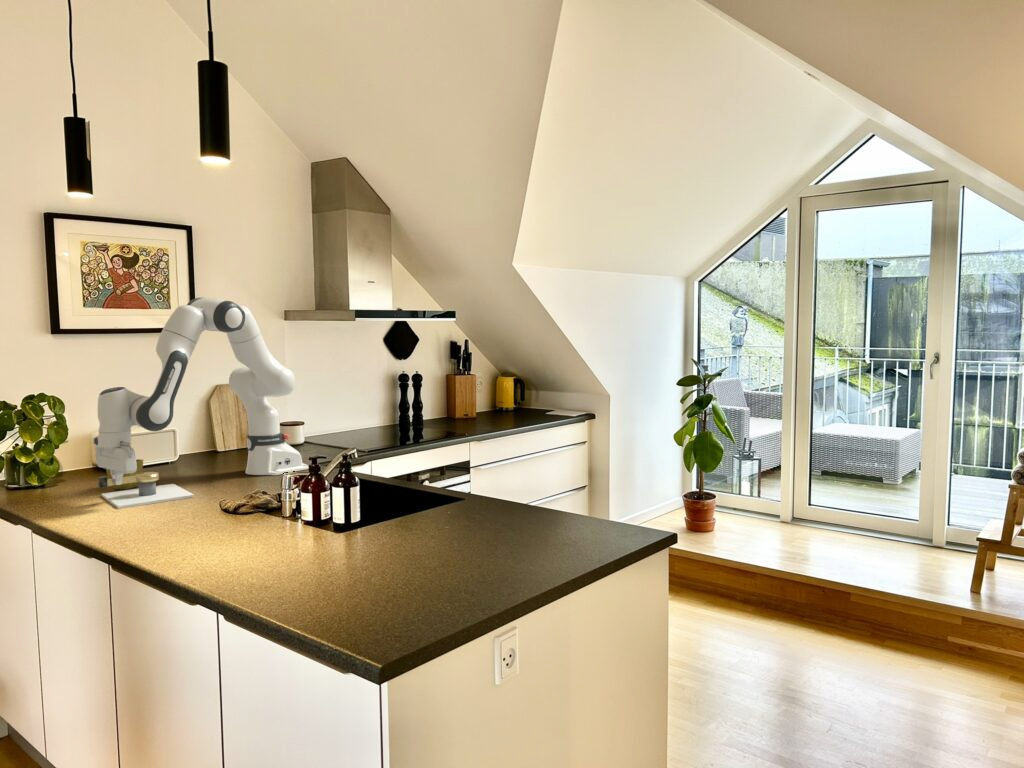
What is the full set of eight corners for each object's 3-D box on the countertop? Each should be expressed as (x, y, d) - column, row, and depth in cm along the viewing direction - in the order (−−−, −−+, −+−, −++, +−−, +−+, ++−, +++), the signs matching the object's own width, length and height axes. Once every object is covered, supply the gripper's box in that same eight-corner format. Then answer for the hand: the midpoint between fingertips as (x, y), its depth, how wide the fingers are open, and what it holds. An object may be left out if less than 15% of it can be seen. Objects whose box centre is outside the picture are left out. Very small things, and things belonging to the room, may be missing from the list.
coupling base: (173, 485, 258) (172, 471, 257) (194, 497, 241) (193, 481, 241) (101, 496, 244) (100, 480, 243) (118, 508, 227) (117, 492, 227)
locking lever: (155, 477, 247) (154, 468, 247) (161, 480, 242) (161, 471, 241) (96, 485, 236) (95, 476, 235) (101, 488, 230) (101, 479, 230)
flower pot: (131, 490, 251) (130, 464, 250) (105, 491, 251) (104, 464, 251) (145, 485, 260) (143, 459, 259) (120, 485, 260) (118, 459, 259)
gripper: (141, 442, 229) (143, 487, 230) (111, 436, 242) (113, 478, 243) (119, 444, 224) (122, 490, 225) (90, 438, 237) (92, 482, 238)
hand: (117, 484), depth 234 cm, fingers closed
